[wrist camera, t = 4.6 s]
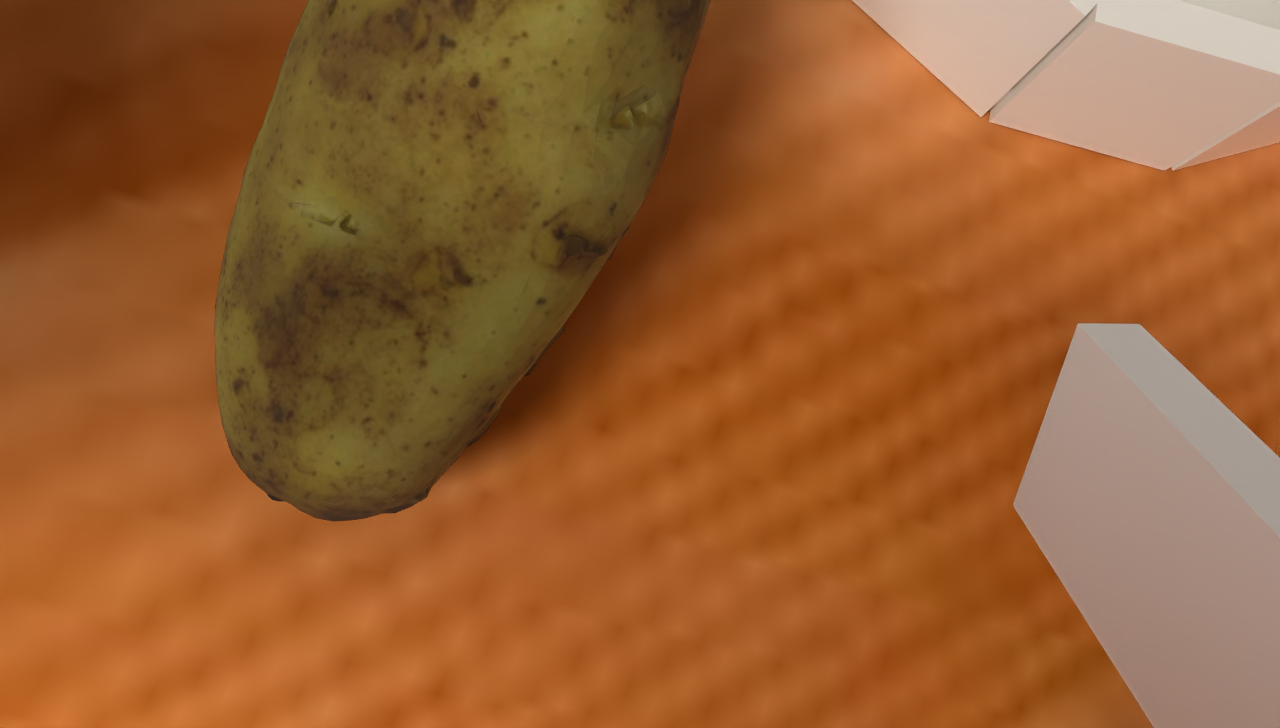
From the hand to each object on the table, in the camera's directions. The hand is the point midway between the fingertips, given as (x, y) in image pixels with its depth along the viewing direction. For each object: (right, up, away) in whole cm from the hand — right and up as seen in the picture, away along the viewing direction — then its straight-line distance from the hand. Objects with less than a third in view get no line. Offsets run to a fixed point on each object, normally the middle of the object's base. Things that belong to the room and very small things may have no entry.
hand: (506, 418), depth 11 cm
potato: (-3, +4, +11) cm, 12 cm away
